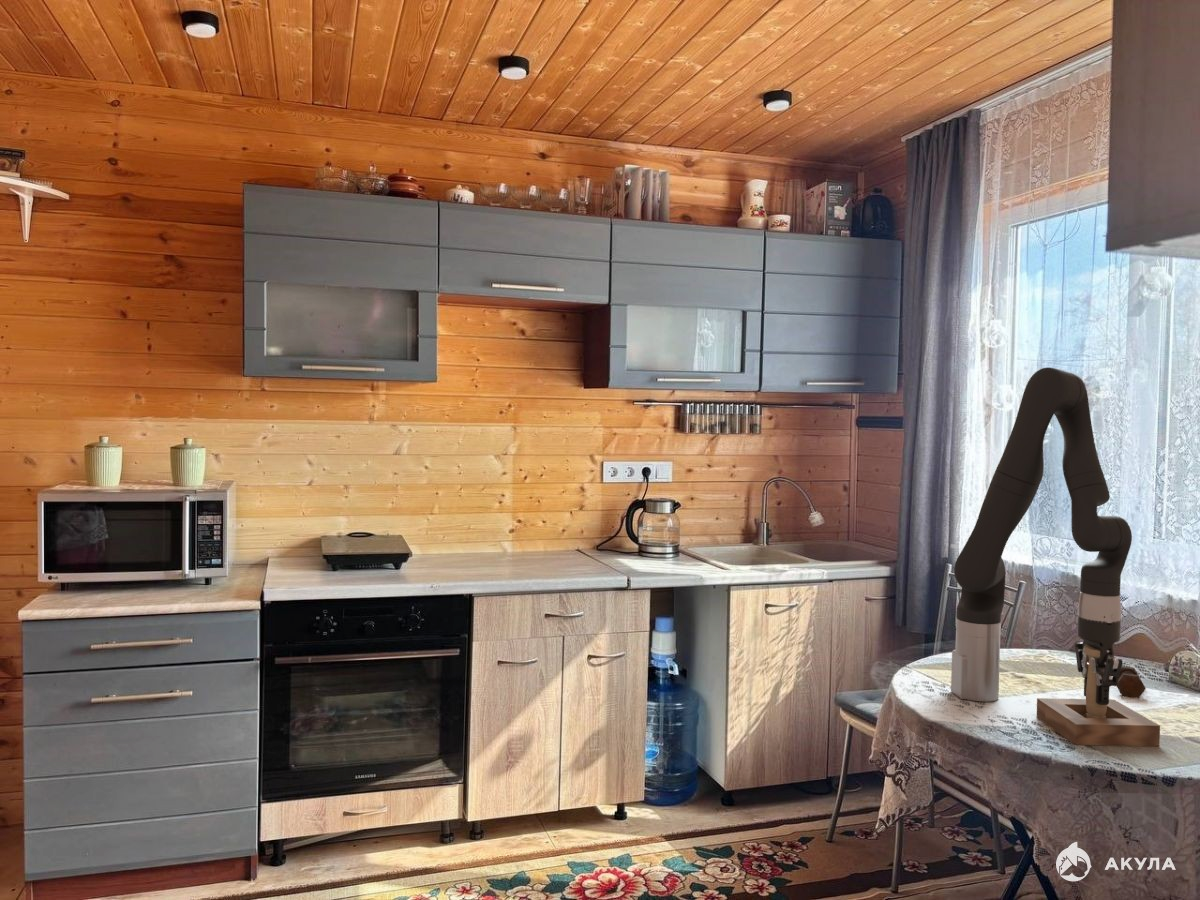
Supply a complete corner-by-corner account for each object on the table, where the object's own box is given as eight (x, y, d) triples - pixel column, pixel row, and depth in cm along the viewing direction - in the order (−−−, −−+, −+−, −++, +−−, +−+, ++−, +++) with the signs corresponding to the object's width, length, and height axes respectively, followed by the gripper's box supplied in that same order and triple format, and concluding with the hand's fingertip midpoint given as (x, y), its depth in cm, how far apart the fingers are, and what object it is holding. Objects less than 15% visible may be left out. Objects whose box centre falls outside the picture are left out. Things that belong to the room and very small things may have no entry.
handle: (1083, 724, 181) (1085, 649, 180) (1081, 714, 187) (1083, 642, 186) (1110, 728, 179) (1113, 652, 178) (1108, 718, 185) (1110, 645, 184)
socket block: (1075, 744, 175) (1076, 724, 175) (1036, 717, 191) (1037, 698, 191) (1159, 746, 175) (1160, 725, 175) (1113, 718, 191) (1114, 699, 191)
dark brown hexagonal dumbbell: (1129, 688, 218) (1134, 704, 205) (1108, 675, 220) (1111, 690, 207) (1144, 669, 217) (1149, 683, 204) (1123, 656, 219) (1127, 669, 206)
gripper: (1062, 607, 189) (1059, 689, 190) (1099, 623, 175) (1096, 712, 176) (1098, 608, 189) (1096, 690, 190) (1138, 624, 175) (1135, 712, 175)
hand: (1096, 700), depth 183 cm, fingers closed on handle, 4 cm apart
